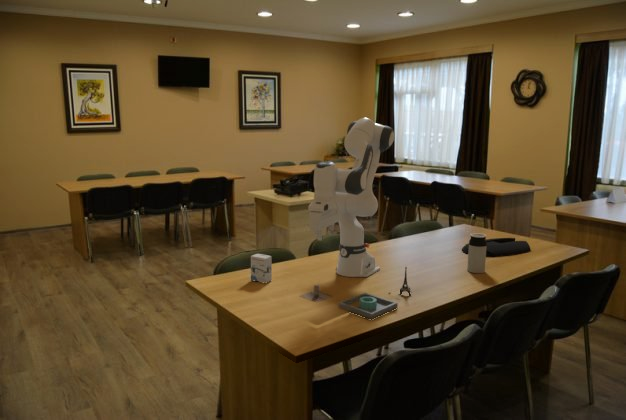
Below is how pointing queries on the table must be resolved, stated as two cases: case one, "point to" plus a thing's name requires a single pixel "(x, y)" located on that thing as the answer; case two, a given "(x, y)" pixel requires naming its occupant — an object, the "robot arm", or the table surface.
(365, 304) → the ring
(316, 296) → the post stand
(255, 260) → the ink box
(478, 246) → the travel mug
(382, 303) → the tray
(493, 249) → the black folded towel
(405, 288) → the eiffel tower figurine
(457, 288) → the table surface
